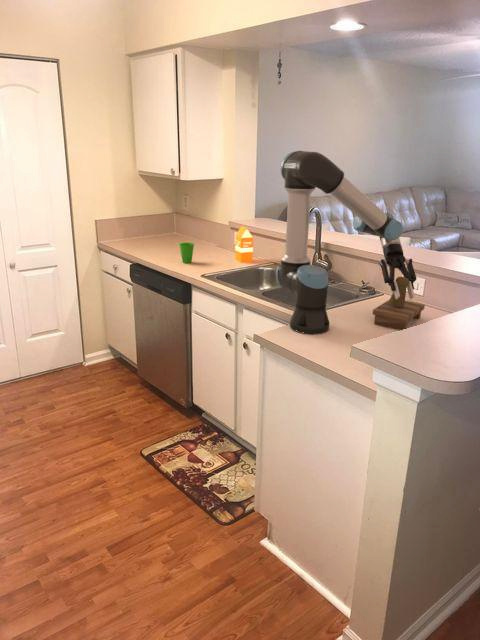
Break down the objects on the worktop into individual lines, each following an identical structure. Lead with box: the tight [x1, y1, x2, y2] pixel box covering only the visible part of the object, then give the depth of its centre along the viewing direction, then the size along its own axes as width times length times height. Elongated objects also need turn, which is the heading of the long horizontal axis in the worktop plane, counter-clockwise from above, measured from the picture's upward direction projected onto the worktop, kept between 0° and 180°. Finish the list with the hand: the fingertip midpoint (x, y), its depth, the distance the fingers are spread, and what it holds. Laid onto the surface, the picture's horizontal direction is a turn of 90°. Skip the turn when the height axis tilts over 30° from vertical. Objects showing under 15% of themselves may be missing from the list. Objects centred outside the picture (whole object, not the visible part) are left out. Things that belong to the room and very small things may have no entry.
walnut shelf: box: [372, 298, 426, 331], centre depth 207 cm, size 20×14×6 cm
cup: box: [178, 242, 195, 264], centre depth 299 cm, size 9×9×11 cm
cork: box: [389, 276, 409, 306], centre depth 204 cm, size 6×6×11 cm
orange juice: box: [235, 225, 254, 264], centre depth 304 cm, size 8×9×20 cm
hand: (405, 297), depth 201 cm, fingers closed on cork, 5 cm apart
